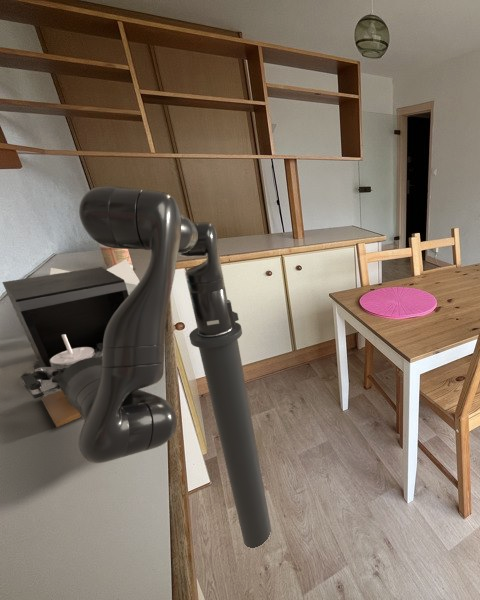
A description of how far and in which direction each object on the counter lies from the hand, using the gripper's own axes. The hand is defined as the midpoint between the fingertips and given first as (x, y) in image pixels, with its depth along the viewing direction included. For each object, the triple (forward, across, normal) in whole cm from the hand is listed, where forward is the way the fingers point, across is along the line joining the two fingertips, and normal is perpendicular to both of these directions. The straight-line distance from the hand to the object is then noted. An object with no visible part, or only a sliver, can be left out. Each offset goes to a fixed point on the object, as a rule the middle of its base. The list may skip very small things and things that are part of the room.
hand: (72, 355), depth 62 cm
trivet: (0, 0, +10) cm, 10 cm away
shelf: (+18, -5, +10) cm, 21 cm away
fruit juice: (+107, -35, +10) cm, 113 cm away
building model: (+66, -18, +10) cm, 69 cm away
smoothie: (0, 0, +10) cm, 10 cm away
